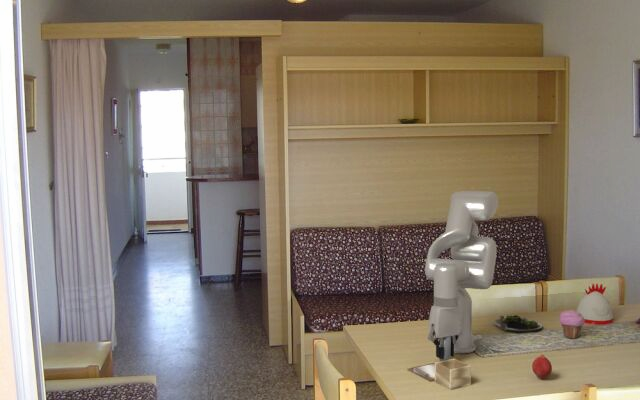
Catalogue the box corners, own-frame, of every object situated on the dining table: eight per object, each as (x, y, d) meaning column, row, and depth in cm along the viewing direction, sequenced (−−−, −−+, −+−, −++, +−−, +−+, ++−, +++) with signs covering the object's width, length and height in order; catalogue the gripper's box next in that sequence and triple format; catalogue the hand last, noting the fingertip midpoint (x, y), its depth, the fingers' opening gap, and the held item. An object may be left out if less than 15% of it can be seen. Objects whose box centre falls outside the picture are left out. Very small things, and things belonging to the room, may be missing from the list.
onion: (528, 376, 208) (529, 351, 207) (546, 375, 209) (547, 350, 208) (536, 382, 203) (537, 357, 202) (554, 382, 203) (555, 356, 202)
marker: (445, 361, 220) (446, 330, 219) (453, 364, 217) (453, 333, 216) (437, 362, 218) (437, 332, 217) (444, 366, 215) (444, 334, 214)
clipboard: (446, 361, 223) (446, 357, 222) (470, 372, 212) (470, 368, 212) (407, 369, 215) (407, 366, 215) (430, 381, 204) (430, 377, 204)
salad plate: (482, 321, 270) (482, 310, 269) (522, 318, 273) (523, 307, 273) (505, 335, 251) (506, 323, 250) (548, 332, 255) (548, 320, 254)
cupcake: (576, 342, 241) (577, 315, 240) (554, 336, 248) (554, 310, 247) (588, 336, 247) (589, 310, 246) (566, 331, 254) (567, 306, 253)
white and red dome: (618, 324, 262) (619, 287, 261) (583, 325, 263) (584, 287, 261) (604, 315, 276) (605, 279, 275) (570, 315, 276) (571, 280, 275)
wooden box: (454, 377, 208) (454, 358, 208) (470, 385, 201) (471, 365, 201) (434, 381, 204) (434, 362, 204) (450, 390, 198) (451, 370, 197)
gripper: (457, 296, 223) (457, 349, 225) (417, 302, 215) (417, 357, 217) (472, 301, 216) (472, 355, 218) (432, 307, 208) (432, 364, 210)
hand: (445, 356), depth 217 cm, fingers closed on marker, 3 cm apart
